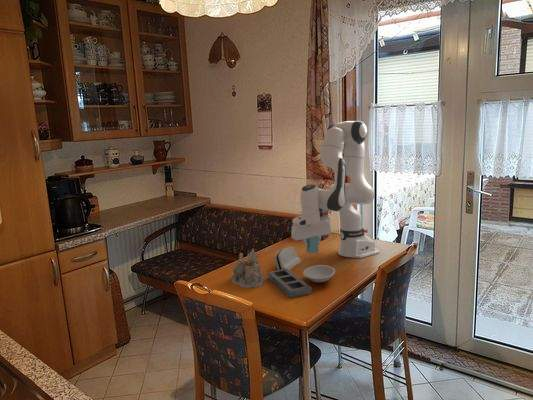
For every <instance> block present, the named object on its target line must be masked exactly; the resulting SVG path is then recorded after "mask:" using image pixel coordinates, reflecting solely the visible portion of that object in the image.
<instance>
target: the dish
mask: <svg viewBox="0 0 533 400" xmlns="http://www.w3.org/2000/svg"><path fill="white" fill-rule="evenodd" d="M302 274H303V276H304V277H306V278H307V279H308V280H309V281H311V282H314V283H324V282H326V281H328V280H330V279H331V278H332V277H333V276H334V275H335V274H336V269H335V268H334V267H332V266H329V265H325V264H315V265H312V266H311V265H310V266H309V267H308V266H307V268H305V269H304V270H303V272H302Z"/></svg>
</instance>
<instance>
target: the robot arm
mask: <svg viewBox="0 0 533 400" xmlns="http://www.w3.org/2000/svg"><path fill="white" fill-rule="evenodd" d="M367 136H368V127H367V125H366V124H365V122H364V121H361V120H347V121H341V122H335V123H334V122H333V123H332V124H330V125H329V126H328V128H327V131H326V133H325V135H324V137H323V140H322V144H321V146H320V147H321V148H320V151H319V158H320V160H321V162H322V163H323V164H324V165H325V166H327V167H329V168H331V169H332V170H333V171H334V183H332V184H331V185H330V186H329V188H328V189H325V188H320V187H317V185H316V184H307V185H304V186H303V187H302V188H301V190H300V206H301V214H300V215H299V216H298V215H297V216H296V217H294V218H293V219H292V226H291V233H290V234H291V235H290V236H291V239H293V240H294V242H295V241H302V243H304V247H305V248H306V247H309V243H307V242H306V241H307V238H311V237H316V236H318V246H319V245H320V242H321V241H322V240H321V236H322V235H328V234H329V235H330V234H331V233H332V228H331V227H332V226H331V223H330V222H331V218H330V217H329V215H328V216H323V217H320V212H319V208H321V209H328V211H333V212H339V218H340V229H339V236H340V244H339V249H338V254H339V256H340V257H341V256H342V257H345V258H357V259H363V258H366V257H370V256H372V255H377V254H380V250H379V249H378V247H376V245H375V242H374V240H373V239H372V238H370V237H369V236H367V235H366V234H367V233H368V232H369V230H368V228H363V227H362V214H361V213H360V211H358V210H356V208H355V207H354V206H353V205H359V206H361V205H369V204H372V202H373V200H374V199H375V191H374V190H375V189H374V188H373V187H372V186H371V185H370V184H369V183H368V181H367V180H366V175H365V155H366V152H365V151H366V149H365V140H366V138H367ZM346 176H347V177H348V178H349V179H350V183H349V182H348V183H347V182H346V180H347V177H346ZM327 217H328V218H327Z"/></svg>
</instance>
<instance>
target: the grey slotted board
mask: <svg viewBox="0 0 533 400" xmlns="http://www.w3.org/2000/svg"><path fill="white" fill-rule="evenodd" d="M267 279H269V280H270V281H271V282H272V283H273V284H274V285H275V286H276V287H277V288H278V289H279V290H280V291H281V292H283V293H284V294H285V295H286V296H287V297H288V298H289V299H294V298H299V297H304V296H307V295H312V286H311V285H309V284H308V283H306V282H305V281H304V280H303V279H301V278H300V277H299V276H297V275H296V274H294V273H293V272H292V271H291V270H290V269H289V270H288V269H280V270H278V269H277V270H273V271H268V272H267Z"/></svg>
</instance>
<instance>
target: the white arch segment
mask: <svg viewBox="0 0 533 400" xmlns="http://www.w3.org/2000/svg"><path fill="white" fill-rule="evenodd" d="M274 262H275V265H276V269H277V270H282V269H288V270H289V271H290V270H291V269H292V268H293V266H294V267H295V266H297V265H298V264H300V263H301V262H302V260H301V258H300V257H298V255H297V251H296V250H295V248H294V247H293V246H292V247H286V248H282V249H280V250H278V251H277V253H276V254H275V256H274ZM299 262H300V263H299ZM296 264H297V265H296ZM290 268H291V269H290Z"/></svg>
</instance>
